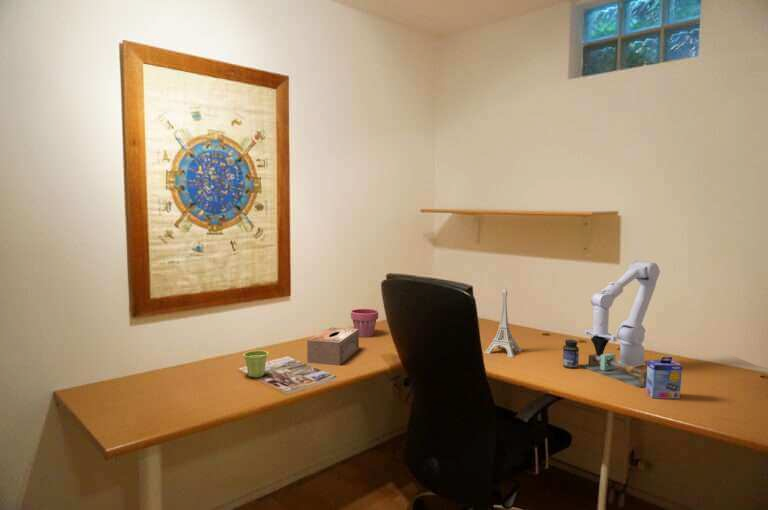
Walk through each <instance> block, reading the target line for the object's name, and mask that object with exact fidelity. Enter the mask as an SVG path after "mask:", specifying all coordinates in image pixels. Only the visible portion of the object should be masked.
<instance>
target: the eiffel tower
mask: <svg viewBox="0 0 768 510" xmlns="http://www.w3.org/2000/svg"><path fill="white" fill-rule="evenodd" d="M501 295H502V301H501V303H502V304H501V305H502V306H501V312H500V313H501V314H500V319H499V320H500V321H499V325H498V329H497V333H496V335H495V337H494V338H492V342H491V344H489V346H488V348H487V349H486V350H485V351H484V354H489V355H491V354H492V351H493V349H500V348H499V347H500V346H502V347H504V348H505V350H506V352H507V355H506V357H508V358H515V356H516V355H515V354H514V352H517V351H518V353H521V352H522V351H523V350H522V348H521V347H520V346H519V345H518V343H517V342H516V340H515V338H514V337H513V335H512V333H511V330H510V325H509V319H508V308H507V306H508V305H507V304H508V303H507V297H508V290H507V288H506V287H503V290H502V293H501ZM513 348H514V351H513ZM490 353H491V354H490Z"/></svg>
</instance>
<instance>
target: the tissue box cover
mask: <svg viewBox="0 0 768 510" xmlns="http://www.w3.org/2000/svg"><path fill="white" fill-rule="evenodd" d="M306 344H307V345H306V349H307V350H306V351H307V352H306V353H307V354H306V355H307V356H306V357H307V362H306V363H308V364H318V365H329V366H331V365H332V366H341V365H342V364H343V363H344V362H345V361H347V360H348V359H349V358H350V357H352V356H353V355H354V354H355V353H356V352H357V351H359V350H360V348H359V346H360V337H359V329H354V328H349V327H335V326H329V327H326V328H325V329H324V330H322V331H321V332H318V333H317V334H315V335H313V336H312V337H310V338H308V339H307V340H306Z"/></svg>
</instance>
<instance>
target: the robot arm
mask: <svg viewBox="0 0 768 510" xmlns="http://www.w3.org/2000/svg"><path fill="white" fill-rule="evenodd" d="M660 272H661V270H660V268H659V265H658V264H657V263H655V262H646V261H639V260H634V261H632V263H631V264H629V265H628V270H626V272H624V274H623V275H621V276H620V277H619V279H618V280H616V281H610V282H609V283H608V285H606V286H605V288H603V289H601V290H600V292H596V293H594V294H593V295H592V296H591V299H590V303H591V306H592V309H593V317H592V320H593V321H592V322H593V323H592V324H593V325H592V329H590V328H587V329H586V328H585V329H584V335H589V336H593V337H590V340H591V342H592V344H593V346H594V349H595V354H596V355H599V356H600V357H601V355H602V354H604V351H605V349H606V347H607V345H608V343H609V342H613V343H614V342H617V341H618V342H619V343H620V348H619V360H617V361H616V360H615V362H618V363H621V364H625V365H628V366H629V365H630V366H633V367H636V368H638V367H641V366H646V365H647V364H646V363H645V352H646V351H645V347H644V345H643V344H642V343H643V342H644V341H645V333H646V328H645V327H644V326H643V324H642V323H643V321H644V319H645V316H646V314H647V311H648V308H649V305H650V302H651V300H652V296H653V294H654V291H655V289H656V285H657V280H658V279H659V275H660ZM635 280H636V281H637V282H638V283H639V289H638V291H637V293H636V297H635V299H634V303H633V305H632V308H631V310H630V313H629V315H628V318H627V319H625V320H624V321H622V322H621V324H620V326H619V327H618V328H617V330H616V335H614V334H611V333H609V321H610V320H609V319H610V318H609V317H610V315H609V313H610V308H611V307H612V306H613V303H614V301H615V300H616V298H617V297H619V296H620V295H621V294H622V293H623V292H624V287H626V286H628V285H629V284H630V283H631V282H633V281H635ZM617 339H618V340H617Z"/></svg>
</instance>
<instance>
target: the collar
mask: <svg viewBox="0 0 768 510" xmlns="http://www.w3.org/2000/svg"><path fill="white" fill-rule="evenodd" d="M600 357H601V362H600V363H601V364H600V369H601V370H604V371H605V370H611V369H615V368H616V367H614V366H611V365H608V364H607V359H609V360H612V361H615V362H616V357H617V356H616V353H613V352H610V353H603V354H602V355H600Z"/></svg>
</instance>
